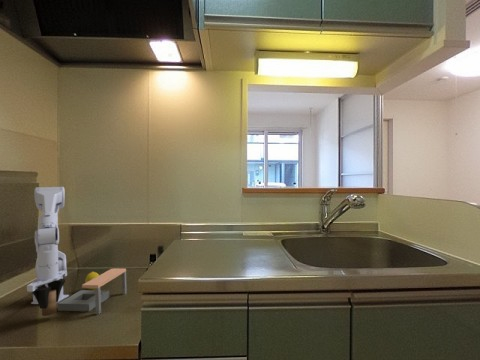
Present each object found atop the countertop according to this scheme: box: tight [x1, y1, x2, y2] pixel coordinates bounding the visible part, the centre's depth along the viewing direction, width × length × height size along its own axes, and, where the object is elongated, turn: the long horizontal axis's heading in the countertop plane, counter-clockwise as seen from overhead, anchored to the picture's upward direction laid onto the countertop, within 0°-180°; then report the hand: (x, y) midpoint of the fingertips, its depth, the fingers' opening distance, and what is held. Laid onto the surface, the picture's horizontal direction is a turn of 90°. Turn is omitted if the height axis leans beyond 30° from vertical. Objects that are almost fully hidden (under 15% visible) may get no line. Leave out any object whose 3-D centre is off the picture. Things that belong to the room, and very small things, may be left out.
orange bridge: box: [81, 267, 128, 315], centre depth 104 cm, size 6×18×10 cm, turn 173°
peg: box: [41, 289, 58, 317], centre depth 93 cm, size 4×4×7 cm
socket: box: [57, 289, 110, 312], centre depth 104 cm, size 12×12×2 cm
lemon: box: [84, 271, 100, 290], centre depth 117 cm, size 6×6×8 cm
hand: (49, 304), depth 93 cm, fingers closed on peg, 4 cm apart
